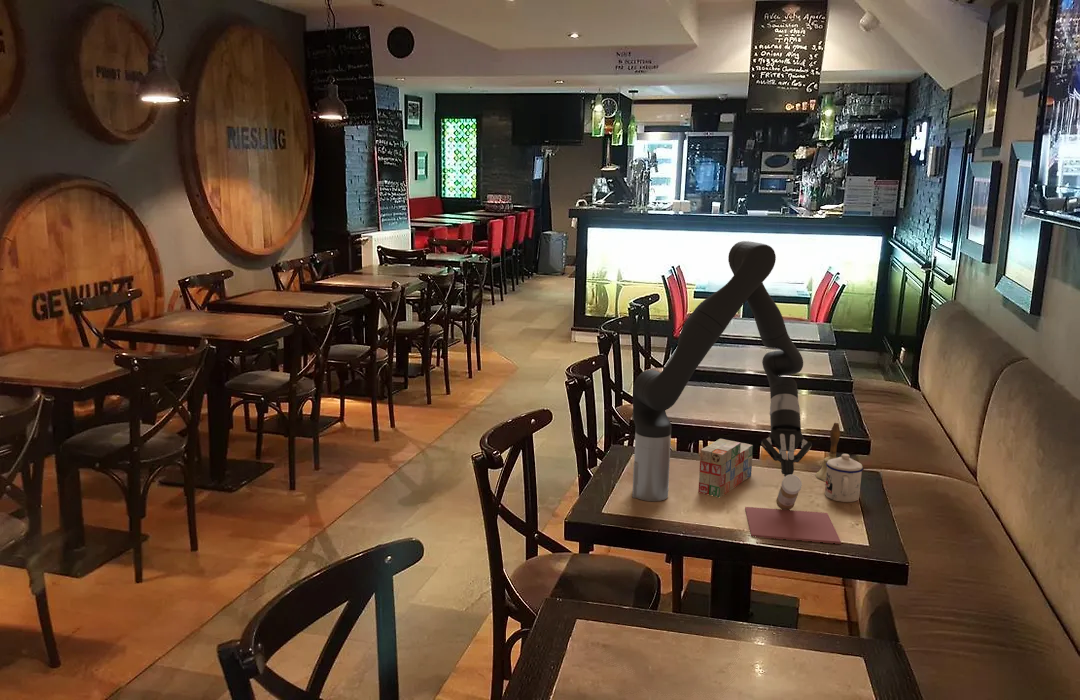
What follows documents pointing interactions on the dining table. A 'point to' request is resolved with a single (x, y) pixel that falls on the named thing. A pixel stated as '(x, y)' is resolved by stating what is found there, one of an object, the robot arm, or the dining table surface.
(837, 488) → the teacup with lid
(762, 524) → the mat
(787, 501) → the sprinkles bottle
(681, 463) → the dining table surface
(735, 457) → the stack of blocks
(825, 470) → the hand bell
